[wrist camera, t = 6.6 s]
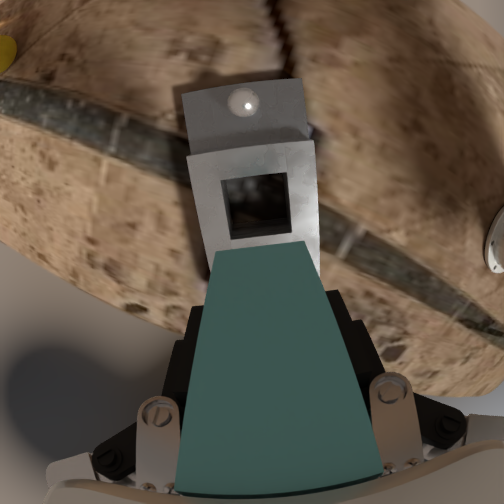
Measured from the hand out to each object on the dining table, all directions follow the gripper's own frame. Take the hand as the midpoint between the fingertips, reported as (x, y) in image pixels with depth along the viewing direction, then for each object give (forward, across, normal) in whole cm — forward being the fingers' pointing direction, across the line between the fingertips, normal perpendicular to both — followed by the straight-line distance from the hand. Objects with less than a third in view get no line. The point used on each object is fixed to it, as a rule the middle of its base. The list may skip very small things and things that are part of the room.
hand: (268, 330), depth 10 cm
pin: (+3, 0, 0) cm, 3 cm away
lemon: (+19, +28, -26) cm, 43 cm away
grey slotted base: (+19, 0, 0) cm, 19 cm away
